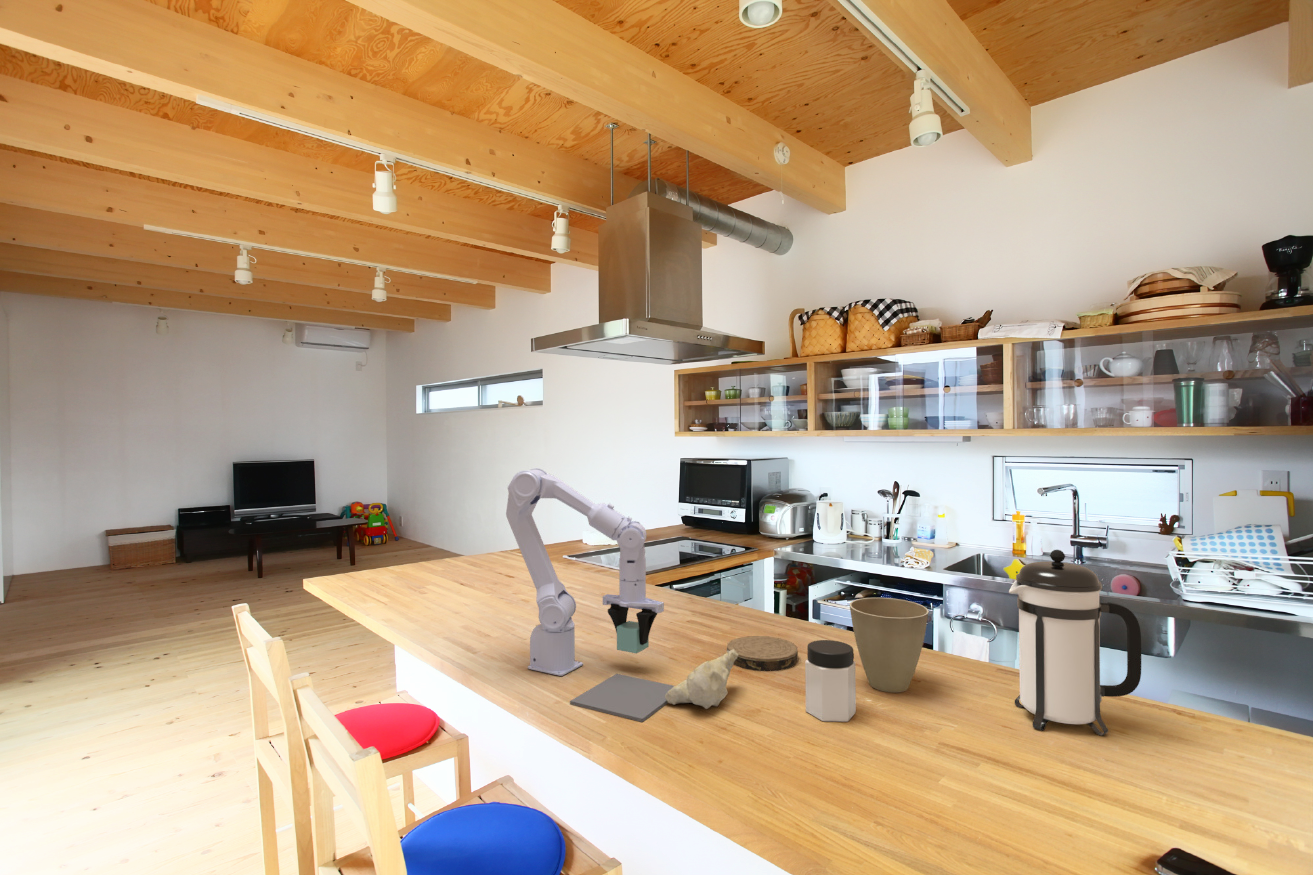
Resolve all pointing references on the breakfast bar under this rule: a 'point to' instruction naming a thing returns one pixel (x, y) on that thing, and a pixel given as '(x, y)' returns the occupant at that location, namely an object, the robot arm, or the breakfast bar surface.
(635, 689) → the mat
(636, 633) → the block
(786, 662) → the round wood slice
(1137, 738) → the breakfast bar surface
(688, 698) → the conch shell
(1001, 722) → the breakfast bar surface
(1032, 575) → the coffee press
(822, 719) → the jar
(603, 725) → the breakfast bar surface
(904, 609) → the plant pot
